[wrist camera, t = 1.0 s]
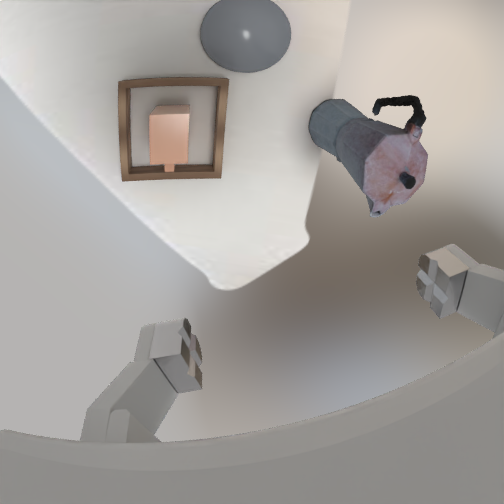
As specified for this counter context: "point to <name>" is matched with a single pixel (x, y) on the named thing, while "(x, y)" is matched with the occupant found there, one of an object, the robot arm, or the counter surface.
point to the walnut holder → (180, 170)
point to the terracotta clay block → (169, 135)
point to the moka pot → (374, 149)
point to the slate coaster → (245, 34)
